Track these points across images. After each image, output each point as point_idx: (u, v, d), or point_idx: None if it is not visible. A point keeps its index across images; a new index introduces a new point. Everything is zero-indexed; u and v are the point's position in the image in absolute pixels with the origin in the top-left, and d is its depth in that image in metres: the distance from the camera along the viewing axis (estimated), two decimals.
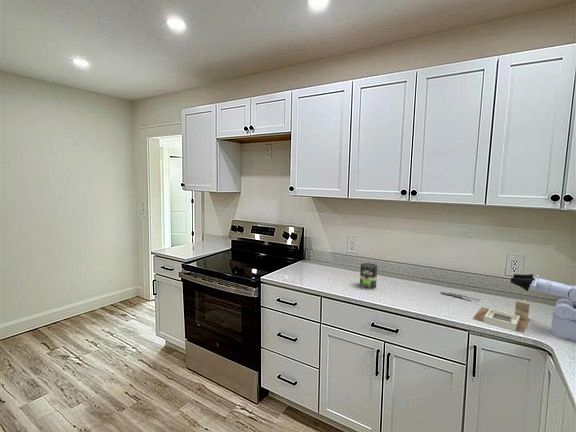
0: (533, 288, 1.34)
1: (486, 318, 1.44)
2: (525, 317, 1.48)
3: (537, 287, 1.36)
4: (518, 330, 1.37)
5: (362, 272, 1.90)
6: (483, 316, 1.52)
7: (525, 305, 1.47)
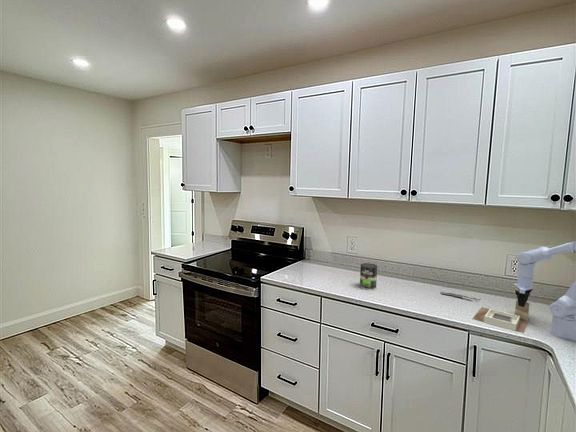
0: (523, 290, 1.43)
1: (486, 318, 1.44)
2: (525, 317, 1.48)
3: (525, 286, 1.46)
4: (518, 330, 1.37)
5: (362, 272, 1.90)
6: (483, 316, 1.52)
7: (525, 305, 1.47)
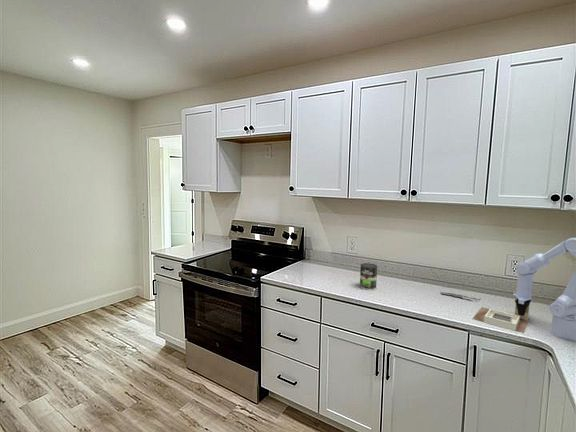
0: (522, 301, 1.43)
1: (486, 318, 1.44)
2: (525, 317, 1.48)
3: (524, 296, 1.46)
4: (518, 330, 1.37)
5: (362, 272, 1.90)
6: (483, 316, 1.52)
7: None
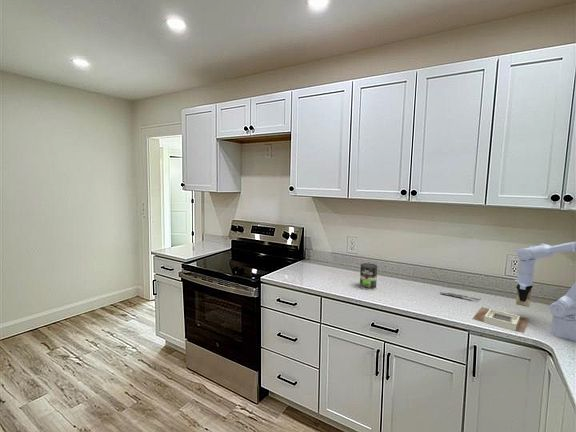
0: (523, 286, 1.42)
1: (486, 318, 1.44)
2: (526, 304, 1.47)
3: (526, 282, 1.45)
4: (518, 330, 1.37)
5: (362, 272, 1.90)
6: (483, 316, 1.52)
7: None
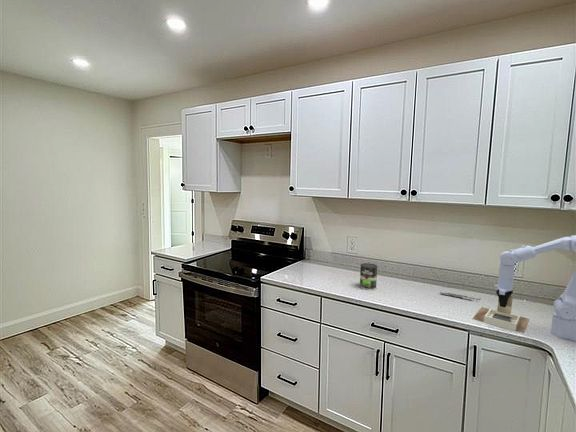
0: (503, 292, 1.38)
1: (486, 318, 1.44)
2: (507, 311, 1.42)
3: (505, 287, 1.41)
4: (518, 330, 1.37)
5: (362, 272, 1.90)
6: (483, 316, 1.52)
7: (508, 299, 1.42)
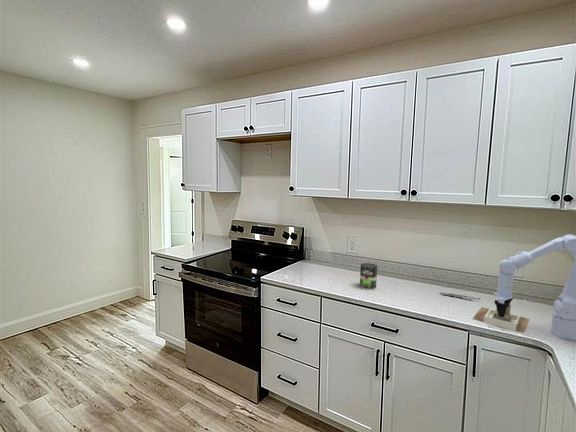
0: (502, 300, 1.38)
1: (486, 318, 1.44)
2: None
3: (505, 295, 1.41)
4: (518, 330, 1.37)
5: (362, 272, 1.90)
6: (483, 316, 1.52)
7: None
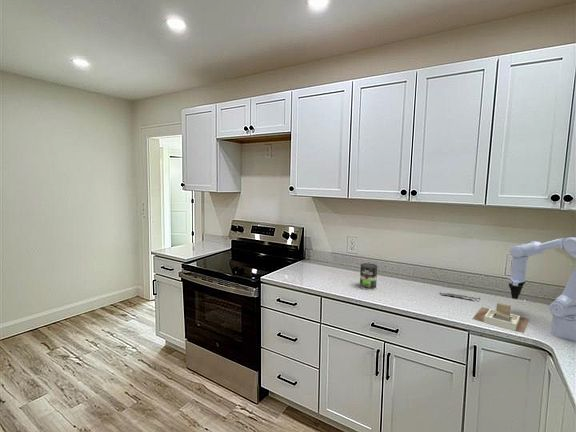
0: (516, 283, 1.47)
1: (486, 318, 1.44)
2: None
3: (518, 278, 1.50)
4: (518, 330, 1.37)
5: (362, 272, 1.90)
6: (483, 316, 1.52)
7: (506, 307, 1.42)
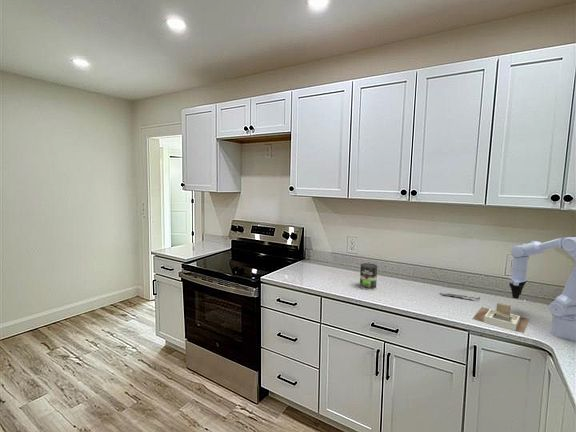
0: (516, 282, 1.47)
1: (486, 318, 1.44)
2: None
3: (519, 278, 1.50)
4: (518, 330, 1.37)
5: (362, 272, 1.90)
6: (483, 316, 1.52)
7: (506, 307, 1.42)
